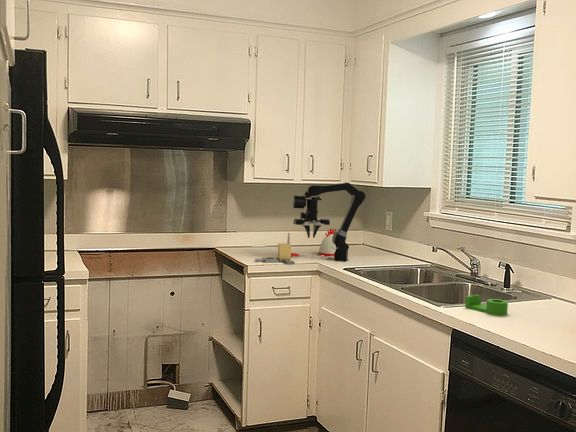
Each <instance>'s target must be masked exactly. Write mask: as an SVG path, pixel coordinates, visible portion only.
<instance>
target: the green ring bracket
mask: <svg viewBox="0 0 576 432" xmlns="http://www.w3.org/2000/svg"><path fill="white" fill-rule="evenodd" d="M464 305H465V307H464V308H467V309H470V310H474V311H478V312H481V313H486V314H488V315H492V316H499V317H501V316H507V315H508V308H509V302H508V300H503V299H501V298H500V299H499V298H498V299H497V298H488V299H487V300H486V304H485V303H482V296H481V295H479V294H473V295H466V297H465V304H464Z"/></svg>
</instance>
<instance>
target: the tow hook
mask: <svg viewBox="0 0 576 432" xmlns="http://www.w3.org/2000/svg"><path fill="white" fill-rule="evenodd" d="M290 235H291V233H290V232H288V233H287V241H286V244H290V241H291V240H290V239H291V237H290ZM293 257H300V253H296V252H291V258H293Z"/></svg>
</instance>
